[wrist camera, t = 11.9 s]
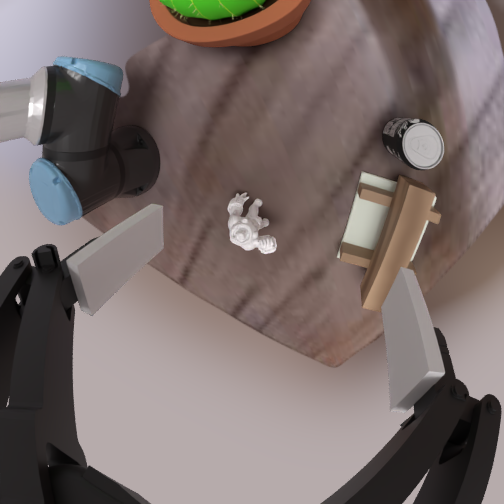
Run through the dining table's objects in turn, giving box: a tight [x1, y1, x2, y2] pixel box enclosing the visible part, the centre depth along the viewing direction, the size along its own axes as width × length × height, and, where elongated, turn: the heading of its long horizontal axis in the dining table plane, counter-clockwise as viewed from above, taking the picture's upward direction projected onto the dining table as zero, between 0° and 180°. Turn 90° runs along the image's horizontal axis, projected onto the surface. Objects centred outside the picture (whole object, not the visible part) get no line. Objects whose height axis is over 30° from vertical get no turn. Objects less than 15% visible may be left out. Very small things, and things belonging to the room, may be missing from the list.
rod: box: [360, 175, 435, 312], centre depth 36 cm, size 4×20×6 cm, turn 173°
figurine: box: [228, 193, 277, 254], centre depth 44 cm, size 10×5×12 cm, turn 65°
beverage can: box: [383, 118, 444, 170], centre depth 30 cm, size 7×7×12 cm
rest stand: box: [337, 171, 441, 276], centre depth 41 cm, size 14×16×5 cm
